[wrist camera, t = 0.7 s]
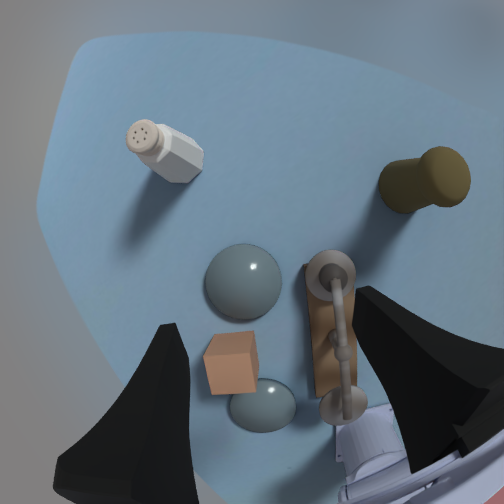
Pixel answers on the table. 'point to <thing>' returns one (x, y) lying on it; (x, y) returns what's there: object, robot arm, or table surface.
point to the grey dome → (243, 281)
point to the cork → (425, 181)
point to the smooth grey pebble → (264, 407)
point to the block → (232, 363)
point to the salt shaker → (165, 151)
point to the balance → (334, 336)
